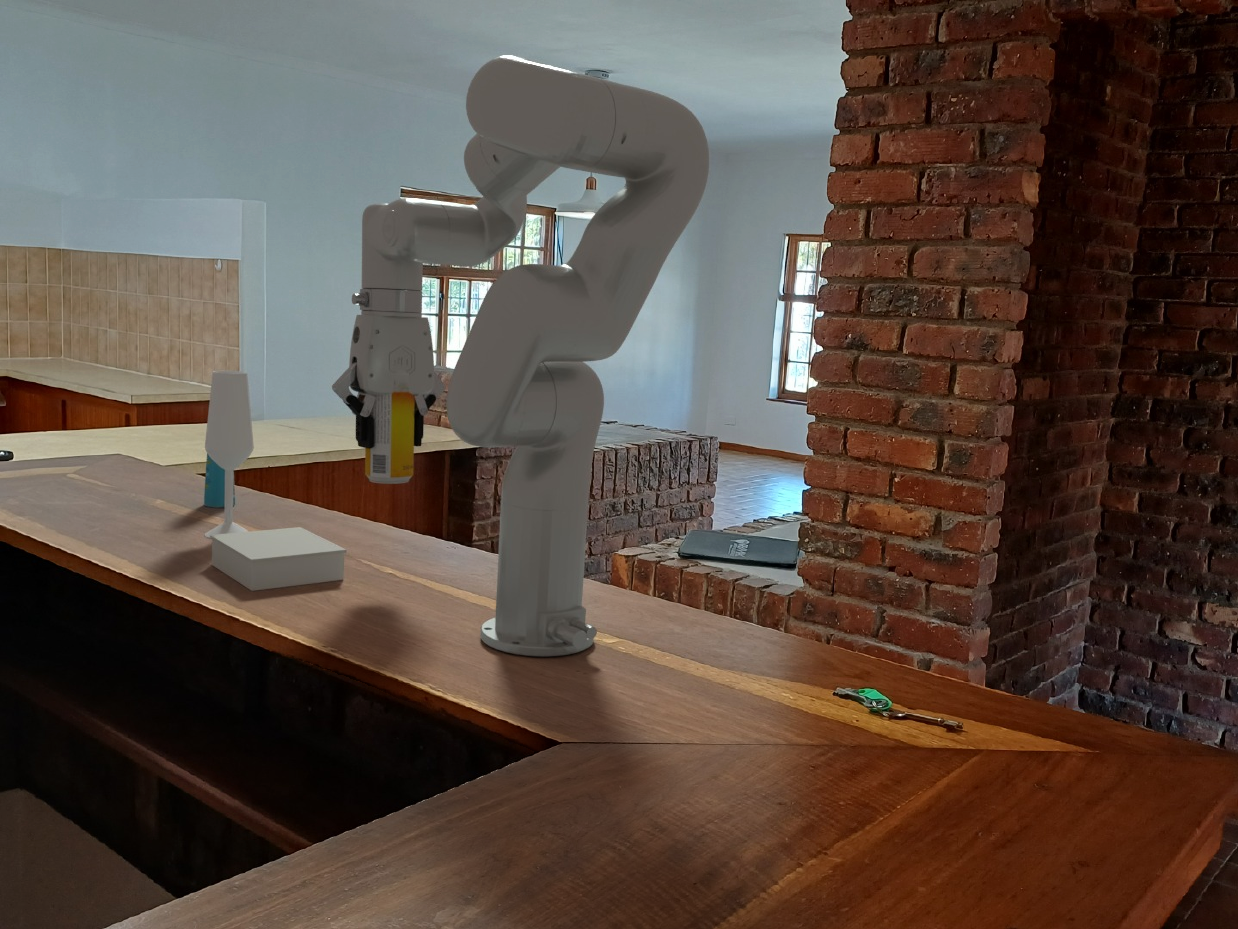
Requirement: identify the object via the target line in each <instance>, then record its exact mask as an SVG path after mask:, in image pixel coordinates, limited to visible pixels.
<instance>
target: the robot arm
mask: <svg viewBox="0 0 1238 929" xmlns="http://www.w3.org/2000/svg"><path fill="white" fill-rule="evenodd" d="M465 100H466V101H465V110H466V116H467V119H468V122H469V124H470V126H471V128H472V130H473V131H474V132H475V133H476V134H475V135H474V136H473V137H472V138H470V139H469V141H468V142H467V144H466V146H465V149H464V152H463V163H464V168H465V171H466V174H467V176H468V178H469V180H470V183H472V185H473V187H475V189H476V190H477V191H478V193H480V194H481V196H482V197H481V198H480V199H478V200H477V201H476V202H474V203H473V204H462V203H456V202H449V201H443V200H441V201H440V200H429V199H424V198H423V199H422V198H414V197H405V198H398V199H395V200H394V201H391V202H390V203H373V204H370V205H368V206H367V207H365V209H364V210H363V212H362V218H361V221H362V222H361V224H362V225H361V288H360V289H359V292H358V293H353V294H352V296H351V302H352V303H351V304H353V305H357V306H359V310H360V314H356V317H355V320H354V325H353V330H352V334H351V336H352V337H351V343H350V348H349V349H350V352H349V363H348V364H349V365H348V366H349V367H348V368H347V369H346V370H344V372H343V373H342V374H341V375H340V376H339V378H338V379H336V380H335V382H334V383H333V384H332V385H331V390H332V391H333V392H334V393H335V394H336V395H337V396H338V397H339V399H341V400H342V402H343V403H344V404H345V406H347V408H348V409H350V410H351V413H352V415H354V416H355V439H356V442H357V446H358V447H359V448H362V449H363V448H364V449H365V448H367V449H370V448H373V447H374V418H373V417H371V416H370V413H371V410H372V407H373V405H374V402H375V399H376V395H388V394H391V393H393V389H394V374H393V373H398V372H396V371H398V370H405V371H407V372H405V373H407V374H408V373H409V393H411V394H412V395H415V405H414V447H421V446H422V442H423V441H422V439H423V438H424V428H425V427H424V425H425V424H424V422H425V420H424V418H425V417H424V416H427V414H428V412H429V409H431V407H432V406H433V405H434V404H435V403H436V401H437V399H438V398H439V397H440V396H441V395H442V394H443V393H444V392H445V390H446V389H447V394H446V404H445V405H446V415H447V419H448V423H449V426H450V428H451V430H452V431H453V433H454V434H455V435H456V436H457V438H459V439H460V440H461V441H462V442H464V443H466V444H468V445H471V446H474V447H478V448H479V447H480V448H506V447H507V448H509V447H515V449H514V450H513V452H512V454H511V457H510V459H509V460H508V464H507V466H506V468H505V471H504V474H503V479H502V482H501V483H502V486H501V496H500V500H501V501H500V512H499V513H500V514H499V536H498V537H499V538H498V555H497V557H498V558H497V559H498V560H497V576H496V577H497V579H496V580H497V581H496V597H495V598H496V601H495V617H493V618H490V619H488V620H487V621H485V622H484V623H482V625H481V626H480V635H479V637H480V639H481V641H483V643H484V644H486V645H487V646H489V647H490V648H493V649H495V650H498V651H501V652H503V653H509V654H513V655H519V656H524V657H525V656H526V657H559V656H560V657H561V656H568V655H572V654H576V653H577V654H578V653H580V652H582V651H585V650H587V649H588V648H590V647H591V646H592V645H593V644H594V641H595V639H594V638H595V637H596V636H597V633H598V630H597V628H596V627H595V626H593V625H591V624H589V623H586V616H587V613H586V612H587V607H585V606H583V593H584V577H585V564H586V563H585V562H586V561H585V560H586V545H587V529H588V528H587V526H588V515H589V514H588V513H589V512H588V511H589V510H588V509H589V500H590V499H589V498H590V487H591V486H590V484H591V473H592V472H591V471H592V466H593V465H592V463H593V457H594V452H595V451H594V450H595V447H596V442H597V438H598V434H599V432H600V427H601V424H602V418H603V414H604V407H605V396H604V388H603V384H602V382H601V380H600V378H599V376H598V374H597V373H596V372H595V370H594V369H593V368H592V367H591V366H590V365H589V364H587V363H585V362H596V361H602V360H605V359H608V358H610V357H613V356H614V355H615V354H616V353H618V351H619V350H620V348H621V347H622V345H623V344H624V342H625V341H626V339H627V337H628V336H629V333H630V331H631V329H632V328H633V325H634V324H635V322H636V320H637V318H638V316H639V314H640V312H641V310H642V309H643V308H642V307H643V306H644V304H645V302H646V300H647V298H648V296H649V294H650V293H651V290H652V289H653V287H654V284H655V283H656V280H657V279H658V276H659V274H660V271H661V270H662V267H663V265H664V264H665V261H666V260H667V258H668V256H669V255H670V253H671V251H672V249H673V248H674V247H675V244H676V243H677V241H678V240H679V238H680V237H681V235H682V233H683V232H684V230H685V229H686V228H687V226H688V225H689V223H690V221H691V220H692V218H693V216H694V215H695V213H696V211H697V209H698V207H699V206H700V203H701V200H702V198H703V196H704V194H705V190H706V186H707V183H708V178H709V174H710V173H709V172H710V150H709V144H708V140H707V136H706V133H705V130H704V129H703V126H702V124H701V122H700V121H699V119H698V118H697V116H696V115H694V113H693V111H691V110H690V109H689V108H688V107H686V106H685V105H684V104H682V103H680V102H679V101H677V100H676V99H673V98H670V97H669V96H667V95H663V94H660V93H658V92H654V91H653V90H652V91H651V90H647V89H643V88H640V87H637V86H636V87H635V86H633V85H628V84H624V83H619V82H615V81H613V80H612V81H611V80H607V79H604V78H599V77H595V76H592V75H588V74H584V73H580V72H575V71H571V70H570V69H566V68H564V67H563V68H562V67H560V66H559V67H558V66H556V65H552V64H547V63H543V62H539V61H536V60H531V59H528V58H525V57H520V56H517V55H509V54H508V55H500V56H497V57H494V58H492V59H490V60H488V61H487V62H486V63H485V64H484V65H482V66H481V67H480V68H479V69H478V71H476V73H475V74H474V76H473V77H472V80H471V82H470V84H469V86H468V89H467V93H466V97H465ZM561 167H562V168H565V169H569V170H570V169H571V170H575V171H580V172H587V173H592V174H598V175H605V176H611V177H617V178H623V179H625V184H624V186H623V187H622V188H621V189H620V190H619V191H617V193H615V194H614V195H612V197H611V198H609V199H608V200H607V201H606V202H605V203H603V205H601V207H600V208H599V209H598V210H597V211H596V213H595V214H594V215H593V216H592V217H591V219H590V220H589V222H588V223H587V225H586V227H585V228H584V232H583V234H582V236H581V239H580V241H579V243H578V245H577V247H576V248H575V250H574V252H573V254H572V256H570V258H569V259H568V261H566V262H565V263H563V264H560V265H555V264H544V263H543V264H542V263H541V264H540V263H529V264H528V263H525V264H520V265H519V264H518V265H516V266H513V267H511V268H509V269H507V270H505V271H504V272H503V273H501V274H500V275H499V276H498V277H497V279H496V280H495V281H494V282H493V283H492V284H491V286H489V289H488V290H487V292H486V293H485V296H484V298H483V300H482V302H481V305H480V306H479V309H478V311H477V314H476V316H475V318H474V320H473V323H472V326H471V328H470V331H469V333H468V335H467V338H466V340H465V342H464V345H463V347H462V350H461V351H460V354H459V356H458V359H457V361H456V364H455V366H454V369H453V372H452V374H451V378H450V380H449V381H450V382H449V384H448V388H447V386H446V383H444V382H443V380H442V379H441V378H440V377H439V376H438V374H437V373H436V372H435V360H434V359H435V358H434V346H433V338H432V332H431V327H430V322H429V318H428V317H424V316H423V313H422V312H423V276H424V275H423V272H424V271H423V268H424V267H423V266H424V265H423V264H425V265H426V264H427V265H428V264H429V265H441V266H442V265H444V266H454V267H455V266H456V267H468V268H469V267H475V266H478V265H481V264H483V263H485V262H487V261H489V260H490V259H492V258H493V257H495V256H496V255H497V254H499V253H500V252H501V251H503V250H504V249H505V248H506V247H507V246H509V244H511V243H512V242H513V241H514V240H515V239H516V237H517V236H518V235H519V233H520V231H521V228H522V226H523V224H524V220H525V217H526V213H527V207H528V197H527V196H529V194H530V193H532V192H533V191H534V190H535V189H536V188H537V187H539V185H541V184H542V183H543V182H544V181H545V180H546V179H548V178H549V177H550V176H551V175H552V174H554V173H555V172H556V171H557V170H558V169H559V168H561ZM350 389H351V390H352V391H354V392H356V393H357V395H354V393H352V391H351V390H350Z"/></svg>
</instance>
